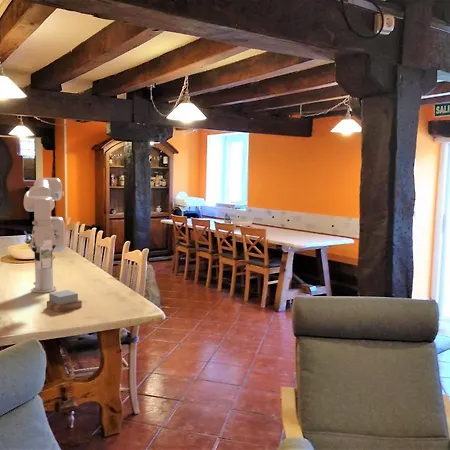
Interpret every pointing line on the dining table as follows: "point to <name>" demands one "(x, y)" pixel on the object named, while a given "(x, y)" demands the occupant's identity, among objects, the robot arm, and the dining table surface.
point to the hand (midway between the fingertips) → (43, 259)
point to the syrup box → (45, 255)
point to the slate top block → (63, 297)
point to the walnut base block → (64, 306)
